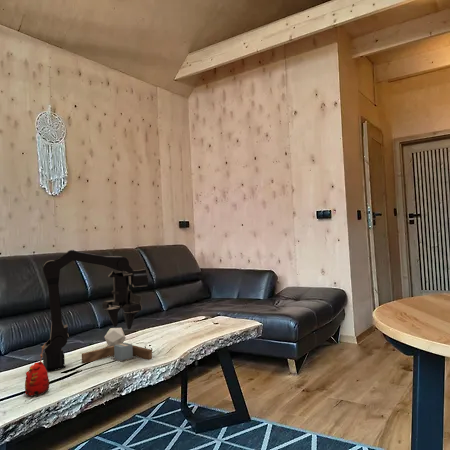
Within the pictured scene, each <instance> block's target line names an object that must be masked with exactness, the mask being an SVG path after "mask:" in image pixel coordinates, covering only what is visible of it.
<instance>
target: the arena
mask: <svg viewBox="0 0 450 450" xmlns="http://www.w3.org/2000/svg"><path fill="white" fill-rule="evenodd" d="M132 347H133V357H132V358H129V359H125V360H119V359H115V357H113V356H114V346H110V347H108V346H106V347H101V348H99V349H98V348H97V349H95V350H91V351H86V352H82V353H81V363H82V364H87V363H91V362H95V361H99V360H102V359H105V358H106V359H107V358H110V357H111V358H110V360H112V359H113V360H112V361H116V360H117V362H119V361H120V363H123V362H127V361H129V360H134V359H137V358H141V359H144V360H147V361H150V360H152V359H153V350H152V348H151V349H150V348H145V347H141V346H137V345H134V344H132ZM126 360H127V361H126Z"/></svg>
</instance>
